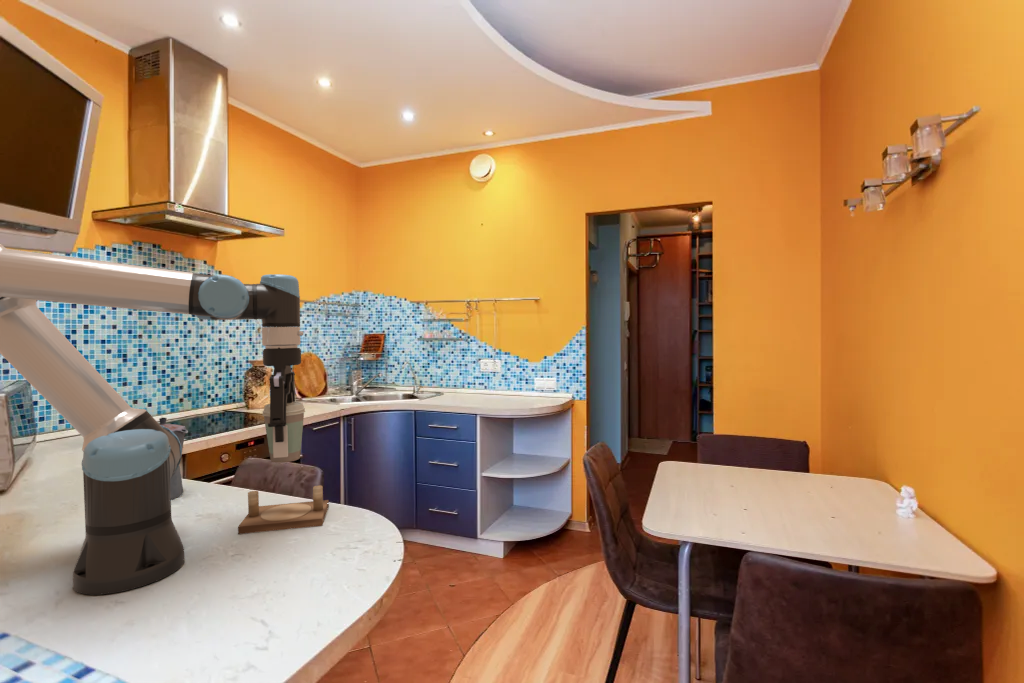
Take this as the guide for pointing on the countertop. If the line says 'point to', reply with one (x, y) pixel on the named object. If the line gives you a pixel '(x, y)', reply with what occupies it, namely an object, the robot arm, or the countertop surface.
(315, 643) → the countertop surface
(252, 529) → the rest board
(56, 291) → the robot arm
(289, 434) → the coffee cup
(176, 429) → the moka pot
